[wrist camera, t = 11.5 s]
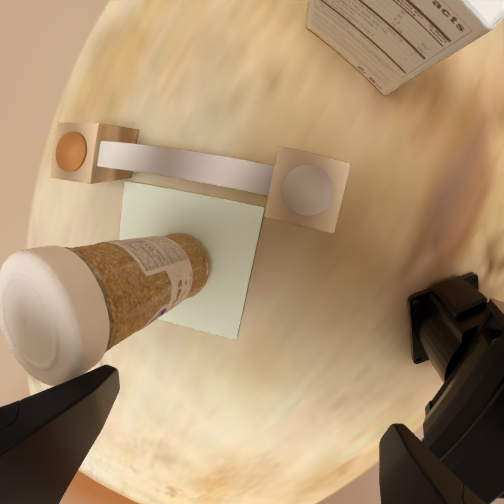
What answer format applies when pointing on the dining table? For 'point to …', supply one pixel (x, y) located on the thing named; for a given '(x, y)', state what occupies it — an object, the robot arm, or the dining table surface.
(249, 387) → the dining table surface
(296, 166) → the handrail
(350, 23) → the supplement box
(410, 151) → the dining table surface
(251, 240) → the pad
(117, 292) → the sprinkles bottle
